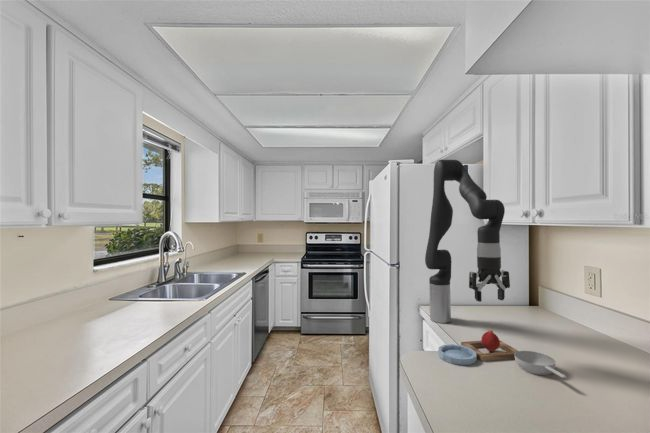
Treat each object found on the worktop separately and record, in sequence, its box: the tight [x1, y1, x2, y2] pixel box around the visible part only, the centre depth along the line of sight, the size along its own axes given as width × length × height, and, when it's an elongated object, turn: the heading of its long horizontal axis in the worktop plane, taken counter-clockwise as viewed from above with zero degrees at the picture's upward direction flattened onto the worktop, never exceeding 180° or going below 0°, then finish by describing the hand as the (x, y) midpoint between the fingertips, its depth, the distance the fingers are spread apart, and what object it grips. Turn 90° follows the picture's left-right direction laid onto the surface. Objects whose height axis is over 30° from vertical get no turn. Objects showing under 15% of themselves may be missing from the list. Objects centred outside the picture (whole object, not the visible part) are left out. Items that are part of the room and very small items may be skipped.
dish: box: [438, 343, 478, 366], centre depth 107 cm, size 12×12×2 cm
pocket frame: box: [460, 339, 519, 362], centre depth 110 cm, size 12×15×2 cm
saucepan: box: [514, 350, 568, 379], centre depth 94 cm, size 11×18×4 cm, turn 0°
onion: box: [480, 329, 501, 353], centre depth 110 cm, size 6×6×8 cm
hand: (489, 300), depth 111 cm, fingers open, 8 cm apart
